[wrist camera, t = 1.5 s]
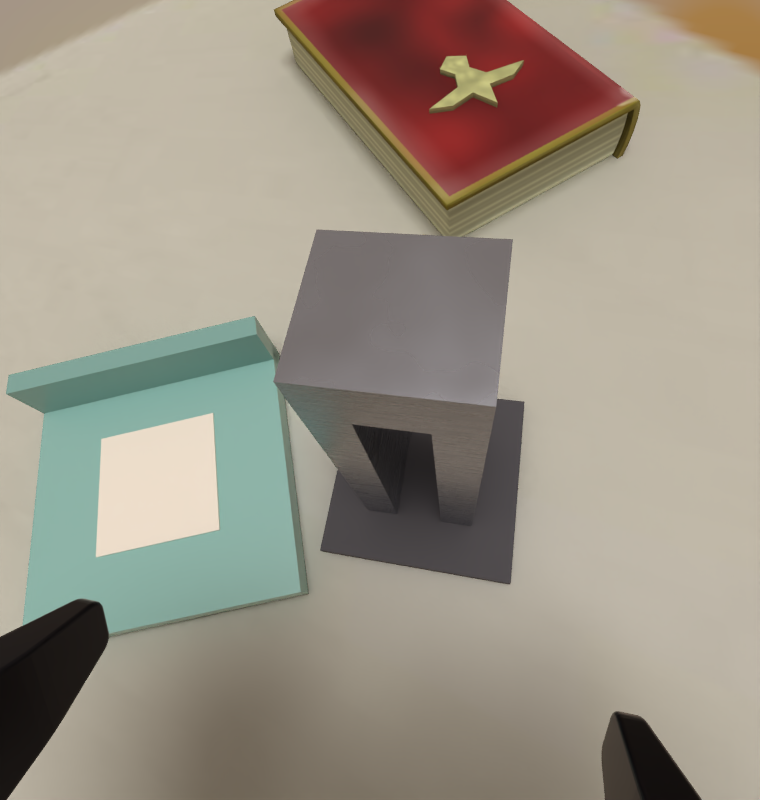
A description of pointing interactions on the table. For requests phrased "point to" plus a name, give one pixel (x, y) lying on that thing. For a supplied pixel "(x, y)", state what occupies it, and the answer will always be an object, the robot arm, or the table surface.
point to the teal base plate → (164, 480)
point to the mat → (438, 512)
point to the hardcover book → (460, 99)
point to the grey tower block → (399, 358)
